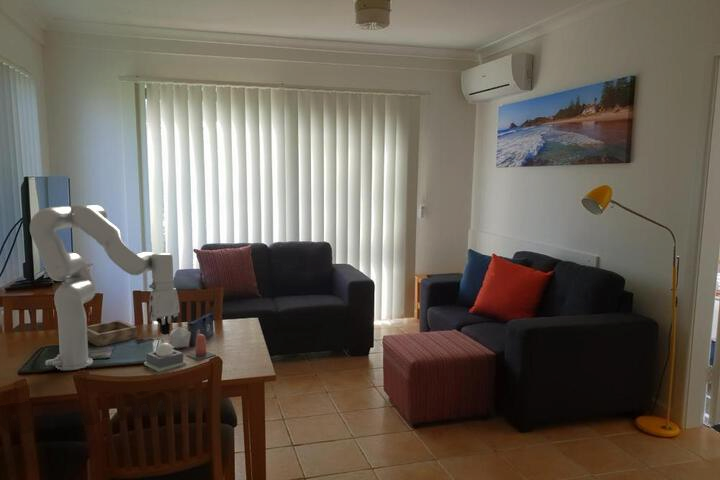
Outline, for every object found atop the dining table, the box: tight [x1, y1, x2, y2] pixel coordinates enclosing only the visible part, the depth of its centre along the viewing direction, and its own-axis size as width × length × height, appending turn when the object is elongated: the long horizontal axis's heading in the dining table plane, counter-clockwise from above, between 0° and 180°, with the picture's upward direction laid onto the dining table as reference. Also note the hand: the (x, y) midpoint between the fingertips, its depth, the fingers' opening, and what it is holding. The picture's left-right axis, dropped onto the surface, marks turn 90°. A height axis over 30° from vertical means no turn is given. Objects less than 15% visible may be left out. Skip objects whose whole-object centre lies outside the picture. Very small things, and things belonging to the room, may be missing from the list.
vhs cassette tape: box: [187, 312, 215, 347], centre depth 240 cm, size 18×3×10 cm, turn 167°
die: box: [168, 326, 191, 349], centre depth 229 cm, size 8×9×10 cm
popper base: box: [143, 348, 187, 373], centre depth 209 cm, size 11×11×4 cm
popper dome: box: [155, 342, 173, 357], centre depth 208 cm, size 6×6×6 cm
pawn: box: [195, 334, 207, 356], centre depth 219 cm, size 4×4×8 cm
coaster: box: [186, 350, 216, 361], centre depth 219 cm, size 8×8×1 cm
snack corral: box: [87, 319, 138, 347], centre depth 241 cm, size 17×17×5 cm
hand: (165, 333), depth 208 cm, fingers closed
